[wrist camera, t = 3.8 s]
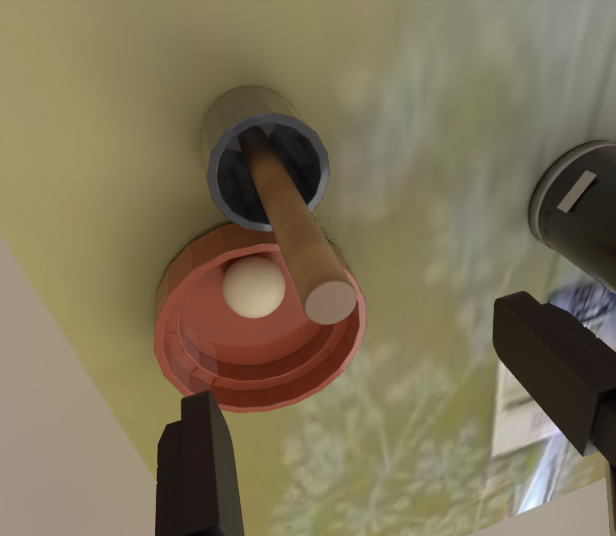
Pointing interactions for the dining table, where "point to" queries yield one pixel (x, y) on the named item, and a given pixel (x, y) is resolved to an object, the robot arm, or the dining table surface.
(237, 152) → the tube
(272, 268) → the dough ball
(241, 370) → the bowl
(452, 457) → the dining table surface
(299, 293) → the stick
